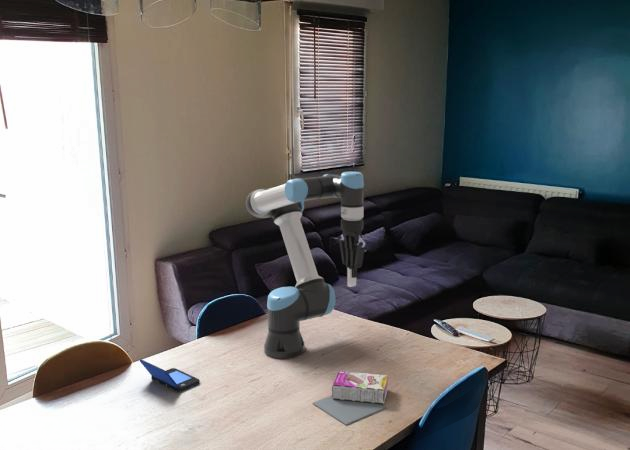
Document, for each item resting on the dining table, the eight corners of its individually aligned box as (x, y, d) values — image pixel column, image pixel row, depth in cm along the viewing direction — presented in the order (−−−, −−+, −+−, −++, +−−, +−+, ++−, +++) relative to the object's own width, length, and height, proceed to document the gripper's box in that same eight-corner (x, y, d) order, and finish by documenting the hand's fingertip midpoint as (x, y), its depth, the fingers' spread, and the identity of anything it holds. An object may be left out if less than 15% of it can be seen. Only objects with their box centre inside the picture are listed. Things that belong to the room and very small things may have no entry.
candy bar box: (338, 369, 199) (388, 374, 196) (338, 383, 200) (388, 388, 197) (332, 384, 188) (385, 389, 185) (331, 399, 189) (384, 405, 186)
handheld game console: (201, 384, 203) (200, 358, 201) (167, 398, 193) (165, 371, 191) (173, 370, 213) (172, 345, 211) (140, 384, 203) (138, 358, 201)
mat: (312, 403, 188) (312, 402, 188) (352, 388, 197) (352, 387, 197) (345, 425, 175) (345, 424, 175) (386, 408, 185) (386, 407, 185)
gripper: (331, 216, 207) (331, 283, 212) (355, 223, 196) (355, 292, 201) (348, 214, 211) (348, 279, 216) (373, 220, 201) (372, 288, 206)
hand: (351, 285), depth 209 cm, fingers closed
